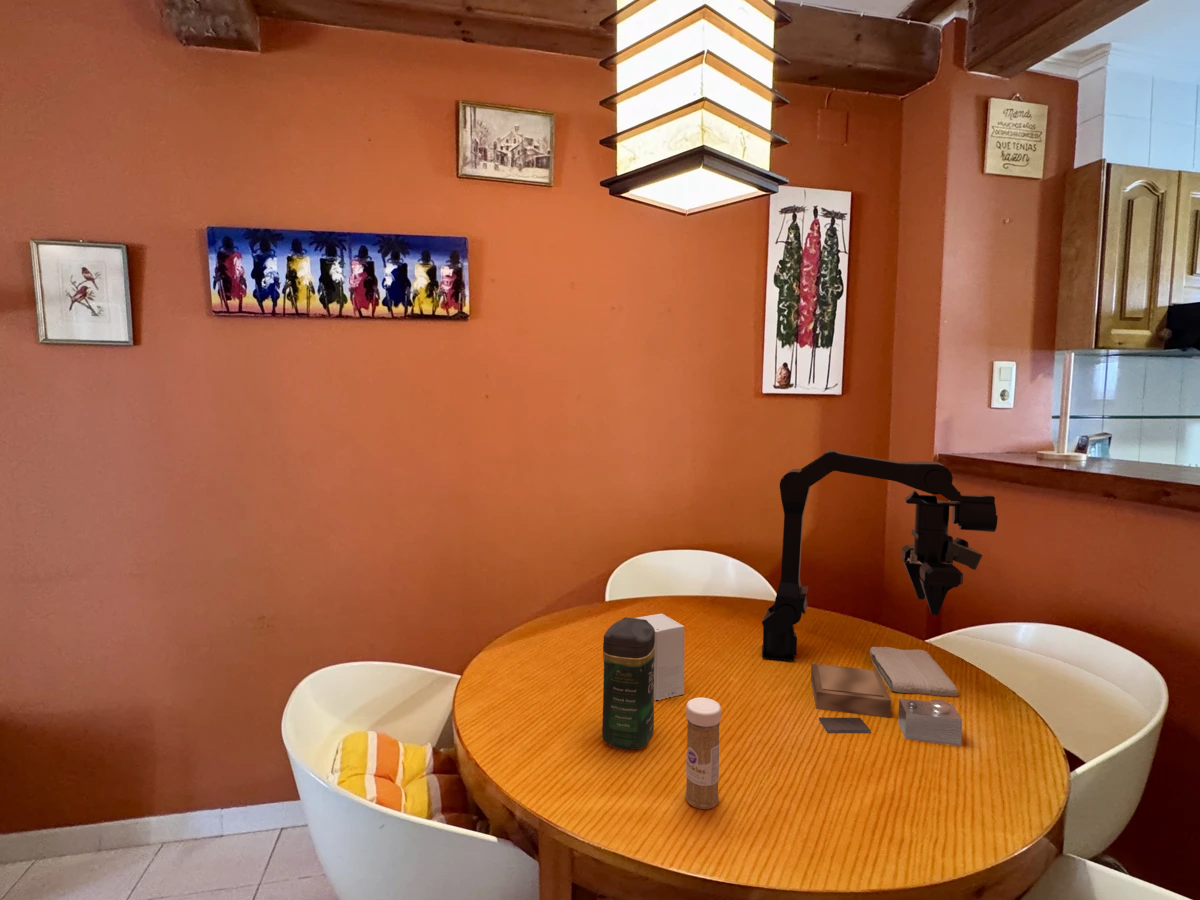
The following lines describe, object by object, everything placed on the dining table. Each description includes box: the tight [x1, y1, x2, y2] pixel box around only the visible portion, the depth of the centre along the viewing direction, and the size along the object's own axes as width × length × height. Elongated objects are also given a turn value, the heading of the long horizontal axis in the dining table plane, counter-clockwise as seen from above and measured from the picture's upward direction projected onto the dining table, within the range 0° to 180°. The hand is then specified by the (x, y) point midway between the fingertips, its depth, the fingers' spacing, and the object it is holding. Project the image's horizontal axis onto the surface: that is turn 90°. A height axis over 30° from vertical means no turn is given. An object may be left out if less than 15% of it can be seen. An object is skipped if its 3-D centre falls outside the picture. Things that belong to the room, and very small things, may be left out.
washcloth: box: [869, 646, 959, 697], centre depth 120 cm, size 12×18×3 cm, turn 171°
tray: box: [810, 663, 892, 718], centre depth 110 cm, size 12×12×3 cm
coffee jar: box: [601, 616, 655, 751], centre depth 97 cm, size 10×8×19 cm
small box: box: [635, 613, 685, 702], centre depth 113 cm, size 8×6×13 cm
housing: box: [897, 697, 963, 747], centre depth 98 cm, size 8×5×6 cm, turn 75°
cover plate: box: [818, 716, 871, 734], centre depth 100 cm, size 7×4×1 cm, turn 89°
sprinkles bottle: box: [684, 697, 722, 810], centre depth 81 cm, size 5×5×14 cm
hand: (927, 606), depth 117 cm, fingers open, 9 cm apart
